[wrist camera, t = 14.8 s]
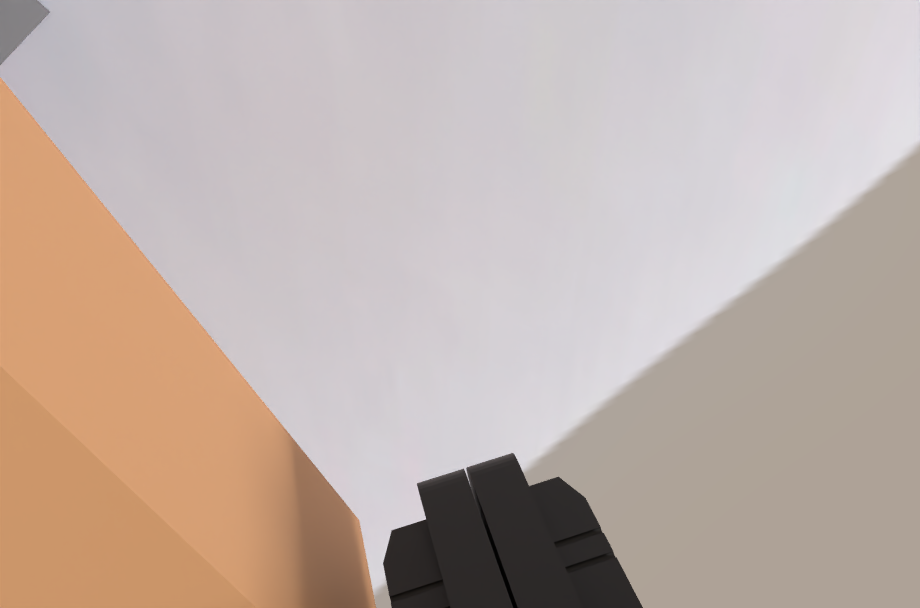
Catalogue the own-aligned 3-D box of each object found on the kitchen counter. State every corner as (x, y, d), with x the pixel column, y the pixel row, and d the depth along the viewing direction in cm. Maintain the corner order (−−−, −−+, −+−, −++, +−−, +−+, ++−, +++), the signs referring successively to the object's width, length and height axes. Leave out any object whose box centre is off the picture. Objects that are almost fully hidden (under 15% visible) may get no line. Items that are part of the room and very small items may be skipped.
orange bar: (-405, -70, 7) (-944, 19, 4) (-178, -193, 7) (-524, -207, 4) (251, 575, 13) (261, 817, 10) (374, 512, 13) (423, 734, 10)
